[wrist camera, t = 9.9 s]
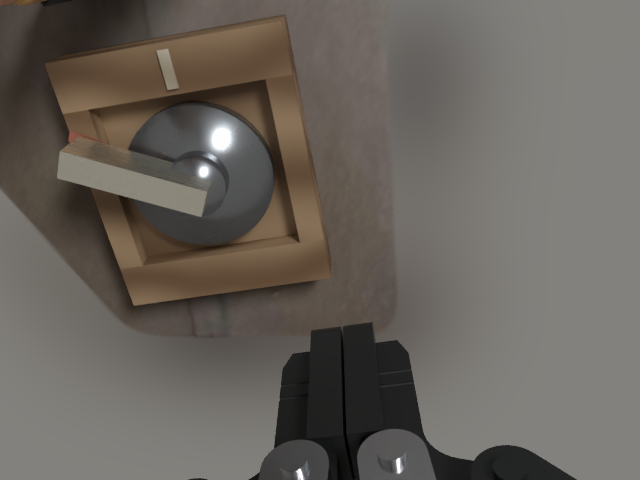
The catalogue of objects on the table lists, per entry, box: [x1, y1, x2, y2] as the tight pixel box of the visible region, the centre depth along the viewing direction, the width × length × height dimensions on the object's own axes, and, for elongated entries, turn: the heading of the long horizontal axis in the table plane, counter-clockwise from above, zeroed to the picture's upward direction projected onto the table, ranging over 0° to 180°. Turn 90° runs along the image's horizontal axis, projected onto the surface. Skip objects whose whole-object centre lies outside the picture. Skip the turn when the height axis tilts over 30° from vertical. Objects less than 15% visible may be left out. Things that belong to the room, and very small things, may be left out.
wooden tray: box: [44, 15, 331, 306], centre depth 42 cm, size 18×15×3 cm
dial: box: [57, 101, 275, 245], centre depth 39 cm, size 13×10×5 cm
